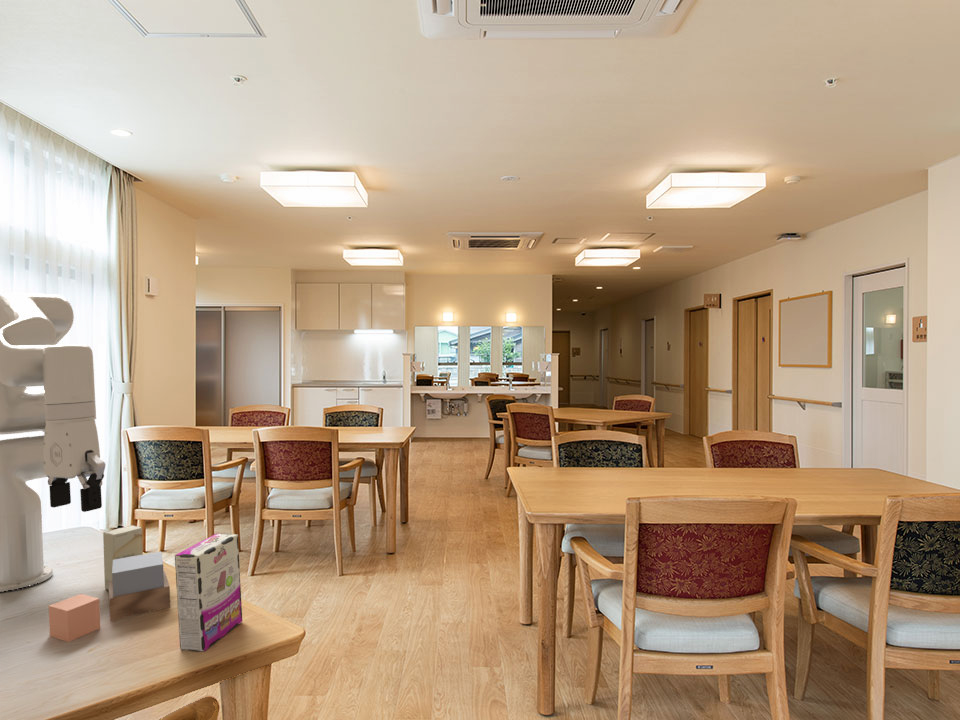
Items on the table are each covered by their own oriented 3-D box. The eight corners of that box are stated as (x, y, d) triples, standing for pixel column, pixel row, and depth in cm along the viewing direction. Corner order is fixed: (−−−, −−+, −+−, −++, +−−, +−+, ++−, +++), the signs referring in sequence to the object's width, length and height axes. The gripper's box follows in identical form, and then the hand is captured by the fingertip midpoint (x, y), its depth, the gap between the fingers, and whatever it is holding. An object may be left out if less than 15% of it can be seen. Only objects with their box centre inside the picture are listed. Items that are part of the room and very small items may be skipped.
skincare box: (114, 593, 124) (112, 535, 124) (103, 589, 127) (101, 532, 126) (145, 582, 130) (143, 527, 129) (134, 578, 132) (132, 524, 132)
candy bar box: (219, 620, 111) (215, 532, 110) (243, 622, 110) (240, 533, 109) (176, 651, 100) (173, 553, 99) (203, 653, 99) (199, 555, 98)
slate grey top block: (113, 597, 112) (112, 573, 112) (113, 582, 120) (112, 559, 119) (164, 586, 117) (163, 564, 116) (161, 572, 124) (161, 551, 124)
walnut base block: (110, 622, 112) (109, 598, 111) (109, 603, 120) (108, 581, 120) (170, 608, 117) (169, 586, 117) (165, 591, 125) (164, 570, 125)
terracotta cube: (49, 636, 106) (48, 605, 106) (81, 623, 111) (80, 593, 111) (68, 642, 104) (67, 611, 104) (100, 628, 109) (99, 598, 109)
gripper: (21, 415, 108) (26, 509, 108) (76, 415, 100) (81, 517, 100) (66, 410, 115) (71, 499, 115) (120, 410, 107) (125, 506, 107)
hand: (76, 507), depth 108 cm, fingers open, 9 cm apart
